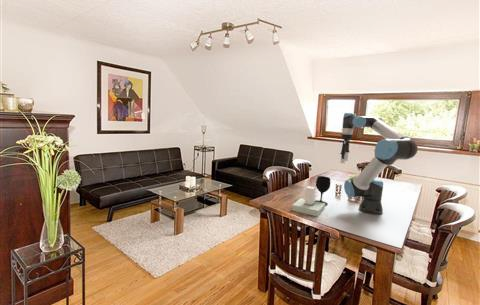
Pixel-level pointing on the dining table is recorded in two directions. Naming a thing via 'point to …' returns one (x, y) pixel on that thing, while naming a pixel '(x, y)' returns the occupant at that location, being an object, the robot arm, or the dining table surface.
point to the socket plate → (308, 207)
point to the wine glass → (322, 186)
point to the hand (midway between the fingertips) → (344, 161)
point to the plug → (309, 196)
